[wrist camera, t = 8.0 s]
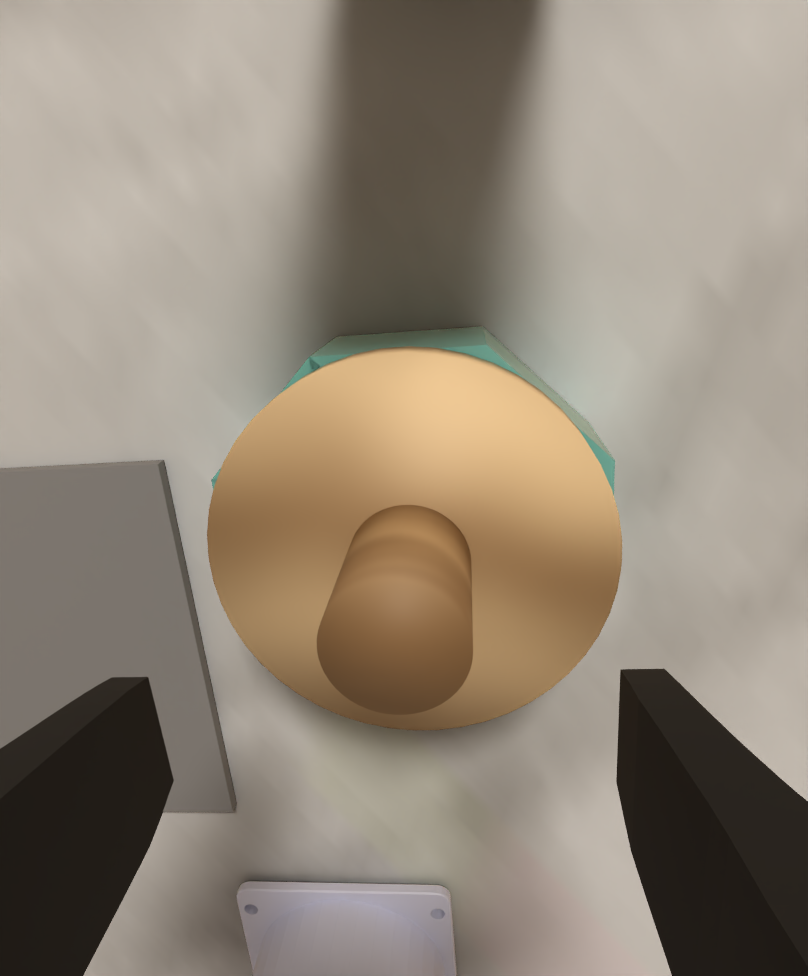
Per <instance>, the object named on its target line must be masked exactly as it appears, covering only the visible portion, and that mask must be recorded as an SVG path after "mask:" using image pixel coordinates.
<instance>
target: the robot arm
mask: <svg viewBox="0 0 808 976" xmlns="http://www.w3.org/2000/svg"><path fill="white" fill-rule="evenodd" d="M173 782H174V779H173V775H172V771H171V767H170V763H169V759H168V755H167V751H166V747H165V743H164V739H163V735H162V731H161V726H160V722H159V718H158V714H157V710H156V706H155V702H154V698H153V694H152V690H151V686H150V682H149V678H148V677H111V678H110V679H108V680H106V681H104V682H102V683H101V684H99V685H97V686H95V687H94V688H92V689H90V690H89V691H87V692H86V693H84V694H83V695H81V696H79V697H78V698H76V699H75V700H73V701H72V702H70V703H69V704H67V705H65V706H64V707H62V708H61V709H59V710H58V711H56V712H55V713H53V714H52V715H50V716H49V717H47V718H46V719H44V720H43V721H41V722H40V723H38V724H37V725H35V726H34V727H32V728H31V729H29V730H28V731H26V732H25V733H23V734H22V735H20V736H19V737H17V738H16V739H14V740H13V741H11V742H10V743H8V744H7V745H5V746H4V747H2V748H1V749H0V976H83V975H84V973H85V971H86V969H87V967H88V965H89V963H90V961H91V959H92V957H93V956H94V954H95V952H96V950H97V948H98V946H99V944H100V942H101V940H102V938H103V936H104V934H105V932H106V931H107V929H108V927H109V925H110V923H111V921H112V919H113V917H114V915H115V913H116V911H117V909H118V908H119V906H120V904H121V902H122V900H123V898H124V896H125V894H126V892H127V890H128V888H129V886H130V884H131V882H132V880H133V878H134V876H135V874H136V872H137V870H138V869H139V867H140V865H141V863H142V861H143V859H144V857H145V855H146V853H147V851H148V848H149V846H150V844H151V842H152V839H153V836H154V834H155V831H156V829H157V826H158V824H159V821H160V818H161V816H162V813H163V810H164V807H165V804H166V802H167V799H168V796H169V793H170V790H171V787H172V784H173ZM617 786H618V791H619V796H620V801H621V806H622V810H623V815H624V820H625V825H626V829H627V834H628V838H629V843H630V847H631V852H632V855H633V858H634V861H635V864H636V868H637V871H638V874H639V877H640V880H641V883H642V886H643V889H644V892H645V895H646V898H647V901H648V904H649V907H650V910H651V914H652V917H653V920H654V923H655V926H656V929H657V932H658V935H659V938H660V941H661V944H662V947H663V950H664V953H665V956H666V959H667V962H668V965H669V968H670V971H671V974H672V976H808V801H806V800H805V799H804V798H803V797H801V796H800V795H799V794H798V793H797V792H795V791H794V790H793V789H792V788H791V787H790V786H789V785H787V784H786V783H785V782H784V781H783V780H782V779H780V778H779V777H778V776H777V775H776V774H775V773H774V772H773V771H772V770H770V769H769V768H768V767H767V766H766V765H765V764H764V763H763V762H762V761H760V760H759V759H758V758H757V757H756V756H755V755H754V754H753V753H752V752H750V751H749V750H748V749H747V748H746V747H745V746H744V745H743V744H742V743H741V742H740V741H739V740H737V739H736V738H735V737H734V736H733V735H732V734H731V733H730V732H729V731H728V730H727V729H726V728H725V727H724V726H723V725H722V724H721V723H720V722H719V721H718V720H716V719H715V718H714V717H713V716H712V715H711V714H710V713H709V712H708V711H707V710H706V709H705V708H704V707H703V706H702V705H701V704H700V703H699V702H698V701H697V700H696V699H695V698H694V697H693V696H692V695H691V694H690V693H689V692H688V691H687V690H686V689H685V688H684V687H683V686H682V685H681V684H680V683H679V682H677V681H676V680H675V679H674V678H673V677H672V676H671V675H670V674H669V673H668V672H667V671H666V670H665V669H625V670H621V673H620V701H619V728H618V756H617ZM236 898H237V903H238V907H239V912H240V916H241V921H242V925H243V929H244V934H245V938H246V943H247V947H248V952H249V956H250V960H251V965H252V969H253V974H252V976H457V970H456V956H455V943H454V930H453V917H452V904H451V894H450V891H449V890H448V889H447V888H445V887H443V886H441V885H420V884H369V883H317V882H265V881H248V882H244V883H242V884H241V885H240V887H239V889H238V892H237V897H236Z"/></svg>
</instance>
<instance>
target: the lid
mask: <svg viewBox="0 0 808 976" xmlns="http://www.w3.org/2000/svg"><path fill="white" fill-rule="evenodd" d="M207 539H208V554H209V562H210V567H211V571H212V576H213V581H214V584H215V587H216V590H217V593H218V596H219V598H220V601H221V604H222V606H223V608H224V610H225V612H226V614H227V616H228V618H229V620H230V622H231V624H232V626H233V627H234V629H235V630H236V632H237V633H238V635H239V636H240V638H241V639H242V641H243V642H244V644H245V645H246V646H247V648H248V649H249V650H250V651H251V652H252V653H253V655H254V656H255V657H256V658H257V659H258V660H259V661H260V663H261V664H262V665H263V666H264V667H266V668H267V669H268V670H269V671H270V672H271V673H272V674H273V675H274V676H275V677H276V678H278V679H279V680H280V681H281V682H283V683H284V684H285V685H287V686H288V687H290V688H291V689H292V690H294V691H295V692H296V693H298V694H299V695H301V696H303V697H305V698H306V699H308V700H310V701H312V702H313V703H315V704H317V705H319V706H321V707H323V708H325V709H327V710H330V711H332V712H334V713H337V714H339V715H341V716H344V717H347V718H350V719H354V720H357V721H360V722H363V723H367V724H372V725H377V726H382V727H387V728H395V729H406V730H441V729H449V728H457V727H464V726H468V725H472V724H477V723H481V722H485V721H488V720H491V719H494V718H496V717H499V716H502V715H505V714H508V713H510V712H512V711H514V710H516V709H518V708H520V707H522V706H524V705H526V704H528V703H530V702H531V701H533V700H535V699H536V698H538V697H539V696H541V695H542V694H544V693H545V692H547V691H548V690H550V689H551V688H552V687H553V686H555V685H556V684H557V683H558V682H559V681H560V680H562V679H563V678H564V677H565V676H566V675H567V674H569V673H570V671H571V670H572V669H573V668H574V667H575V666H576V665H577V664H578V663H579V662H580V660H581V659H582V658H583V657H584V656H585V655H586V653H587V652H588V650H589V649H590V647H591V646H592V644H593V643H594V642H595V640H596V639H597V637H598V636H599V634H600V632H601V630H602V628H603V626H604V624H605V622H606V620H607V618H608V616H609V614H610V611H611V608H612V605H613V602H614V599H615V595H616V592H617V589H618V583H619V577H620V571H621V564H622V536H621V528H620V520H619V513H618V510H617V506H616V503H615V499H614V496H613V492H612V489H611V487H610V484H609V482H608V480H607V478H606V475H605V473H604V471H603V469H602V466H601V464H600V463H599V461H598V459H597V458H596V456H595V454H594V453H593V451H592V450H591V448H590V446H589V445H588V443H587V442H586V440H585V438H584V437H583V435H582V434H581V432H580V431H579V429H578V428H577V427H576V425H575V424H574V423H573V422H572V421H571V419H570V418H569V417H568V416H567V415H566V414H565V412H564V411H563V410H562V409H561V408H560V407H559V406H558V405H557V404H556V403H554V402H553V401H552V400H551V399H550V398H549V397H548V396H547V395H545V394H544V393H543V392H542V391H541V390H540V389H538V388H537V387H535V386H534V385H532V384H531V383H529V382H528V381H526V380H525V379H523V378H522V377H520V376H519V375H517V374H515V373H513V372H511V371H509V370H507V369H505V368H503V367H501V366H499V365H497V364H495V363H493V362H490V361H487V360H484V359H481V358H478V357H475V356H472V355H469V354H466V353H461V352H456V351H451V350H446V349H440V348H430V347H412V346H406V347H393V348H381V349H376V350H371V351H367V352H362V353H357V354H353V355H350V356H347V357H345V358H342V359H339V360H336V361H334V362H331V363H328V364H326V365H324V366H322V367H320V368H319V369H317V370H315V371H313V372H311V373H309V374H307V375H305V376H304V377H302V378H301V379H300V380H298V381H297V382H295V383H294V384H293V385H291V386H290V387H288V388H287V389H286V390H284V391H283V392H282V393H280V394H279V395H278V396H277V397H276V398H274V399H273V400H272V401H271V402H270V403H269V404H268V405H267V406H266V407H265V408H264V409H262V410H261V411H260V412H259V413H258V414H257V415H256V416H255V417H254V418H253V419H252V420H251V422H250V423H249V424H248V425H247V427H246V428H245V429H244V431H243V432H242V433H241V434H240V436H239V437H238V438H237V440H236V441H235V443H234V445H233V446H232V448H231V450H230V452H229V454H228V455H227V457H226V459H225V461H224V462H223V465H222V467H221V470H220V473H219V475H218V478H217V481H216V483H215V486H214V490H213V495H212V499H211V504H210V508H209V517H208V530H207Z"/></svg>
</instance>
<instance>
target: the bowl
mask: <svg viewBox="0 0 808 976" xmlns="http://www.w3.org/2000/svg"><path fill="white" fill-rule="evenodd" d="M406 346H412V347H430V348H440V349H446V350H451V351H456V352H461V353H466V354H469V355H472V356H475V357H478V358H481V359H484V360H487V361H490V362H493V363H495V364H497V365H499V366H501V367H503V368H505V369H507V370H509V371H511V372H513V373H515V374H517V375H519V376H520V377H522V378H523V379H525V380H526V381H528V382H529V383H531V384H532V385H534V386H535V387H537V388H538V389H540V390H541V391H542V392H543V393H544V394H545V395H547V396H548V397H549V398H550V399H551V400H552V401H553V402H554V403H556V404H557V405H558V406H559V407H560V408H561V409H562V410H563V411H564V412H565V414H566V415H567V416H568V417H569V418H570V419H571V421H572V422H573V423H574V424H575V425H576V427H577V428H578V429H579V431H580V432H581V434H582V435H583V437H584V438H585V440H586V442H587V443H588V445H589V446H590V448H591V450H592V451H593V453H594V454H595V456H596V458H597V459H598V461H599V463H600V464H601V466H602V469H603V471H604V473H605V475H606V478H607V480H608V482H609V484H610V487H611V489H612V492H613V496H614V469H615V460H614V459H613V457H612V456H611V454H610V453H609V451H608V450H607V448H606V447H605V446H604V444H603V443H602V441H601V440H600V438H599V437H598V435H597V434H596V432H595V431H594V429H593V428H592V427H591V425H590V424H589V422H588V421H587V420H585V419H584V418H583V417H582V416H581V415H580V414H579V413H578V412H577V411H576V410H574V409H573V408H572V407H571V406H570V405H569V404H568V403H567V402H566V401H565V400H563V399H562V398H561V397H560V396H559V395H558V394H557V393H556V392H555V391H554V390H552V389H551V388H550V387H549V386H548V385H547V384H546V383H545V382H544V381H542V380H541V379H540V378H539V377H538V376H537V375H536V374H535V373H534V372H533V371H531V370H530V369H529V368H528V367H527V366H526V365H525V364H524V363H523V362H522V361H520V360H519V359H518V358H517V357H516V356H515V355H514V354H513V353H512V352H511V351H509V350H508V349H507V348H506V347H505V346H504V345H503V344H502V343H501V342H500V341H498V340H497V339H496V338H495V337H494V336H493V335H492V334H491V333H490V332H489V331H487V330H486V329H485V328H484V327H483V326H479V327H465V328H450V329H436V330H422V331H408V332H394V333H380V334H366V335H352V336H337V337H336V338H334V339H333V340H331V341H330V342H329V343H327V344H326V345H325V346H323V347H322V348H321V349H319V350H318V351H316V352H315V353H314V354H312V355H311V356H310V357H309V358H308V359H307V360H306V362H305V363H304V364H303V365H302V367H301V368H300V369H299V370H298V372H297V373H296V374H295V375H294V377H293V378H292V379H291V380H290V382H289V383H288V384H287V385H286V387H285V388H284V389H283V391H284V390H286V389H287V388H288V387H290V386H291V385H293V384H294V383H295V382H297V381H298V380H300V379H301V378H302V377H304V376H305V375H307V374H309V373H311V372H313V371H315V370H317V369H319V368H320V367H322V366H324V365H326V364H328V363H331V362H334V361H336V360H339V359H342V358H345V357H347V356H350V355H353V354H357V353H362V352H367V351H371V350H376V349H381V348H393V347H406ZM283 391H282V392H283ZM282 392H281V393H282ZM220 470H221V469H220ZM220 470H219V471H218V472H217V474H216V475H215V476H214V477H213V479H212V486H213V490H214V486H215V483H216V481H217V478H218V475H219V473H220Z"/></svg>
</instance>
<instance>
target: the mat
mask: <svg viewBox="0 0 808 976" xmlns="http://www.w3.org/2000/svg"><path fill="white" fill-rule="evenodd" d="M111 677H148V678H149V682H150V686H151V690H152V694H153V698H154V702H155V706H156V710H157V714H158V718H159V722H160V726H161V731H162V735H163V739H164V743H165V747H166V751H167V755H168V759H169V763H170V767H171V771H172V775H173V779H174V782H173V784H172V787H171V790H170V793H169V796H168V799H167V802H166V804H165V807H164V810H163V812H233V811H234V808H235V806H236V799H235V794H234V789H233V785H232V780H231V775H230V771H229V766H228V761H227V756H226V752H225V747H224V742H223V738H222V733H221V728H220V723H219V719H218V714H217V709H216V705H215V700H214V695H213V690H212V686H211V681H210V676H209V671H208V667H207V662H206V657H205V653H204V648H203V643H202V638H201V634H200V629H199V624H198V620H197V615H196V610H195V605H194V601H193V596H192V591H191V586H190V582H189V577H188V572H187V568H186V563H185V558H184V553H183V549H182V544H181V539H180V535H179V530H178V525H177V520H176V516H175V511H174V506H173V502H172V497H171V492H170V487H169V483H168V478H167V473H166V468H165V464H164V460H156V461H137V462H117V463H98V464H79V465H60V466H40V467H21V468H2V469H0V749H1V748H2V747H4V746H5V745H7V744H8V743H10V742H11V741H13V740H14V739H16V738H17V737H19V736H20V735H22V734H23V733H25V732H26V731H28V730H29V729H31V728H32V727H34V726H35V725H37V724H38V723H40V722H41V721H43V720H44V719H46V718H47V717H49V716H50V715H52V714H53V713H55V712H56V711H58V710H59V709H61V708H62V707H64V706H65V705H67V704H69V703H70V702H72V701H73V700H75V699H76V698H78V697H79V696H81V695H83V694H84V693H86V692H87V691H89V690H90V689H92V688H94V687H95V686H97V685H99V684H101V683H102V682H104V681H106V680H108V679H110V678H111Z"/></svg>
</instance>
